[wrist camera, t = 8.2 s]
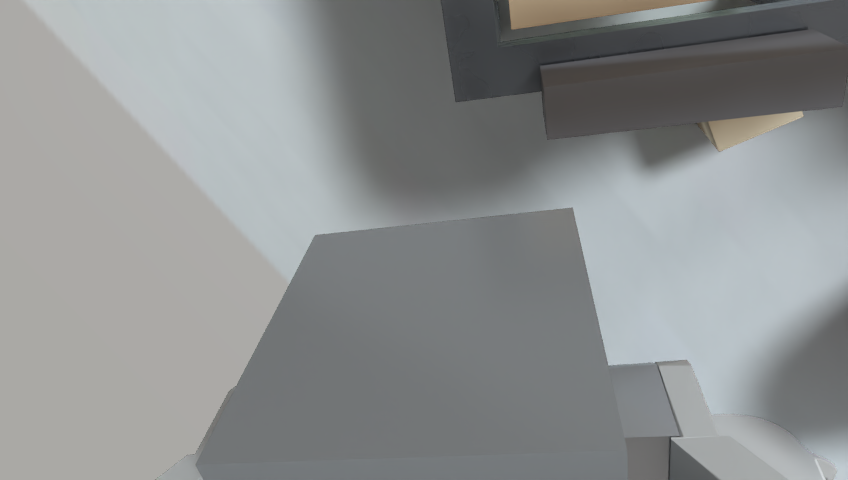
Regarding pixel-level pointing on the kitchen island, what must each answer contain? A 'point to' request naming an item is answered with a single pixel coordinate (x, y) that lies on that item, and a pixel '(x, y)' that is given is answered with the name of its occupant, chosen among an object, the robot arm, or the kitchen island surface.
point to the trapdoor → (681, 75)
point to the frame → (608, 39)
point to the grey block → (429, 362)
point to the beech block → (743, 128)
